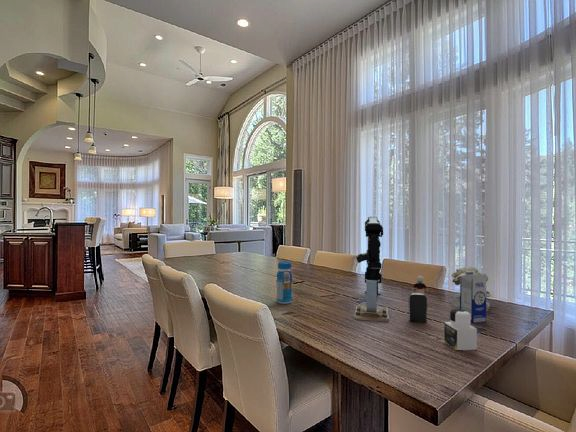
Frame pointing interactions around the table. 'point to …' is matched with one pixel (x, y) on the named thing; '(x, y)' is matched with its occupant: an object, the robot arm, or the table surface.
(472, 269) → the cherub figurine
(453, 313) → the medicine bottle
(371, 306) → the tall pale blue pillar
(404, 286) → the table surface
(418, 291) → the grandmother figurine
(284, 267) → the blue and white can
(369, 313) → the keyhole track
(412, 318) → the battery charger
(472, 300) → the milk carton
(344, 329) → the table surface
